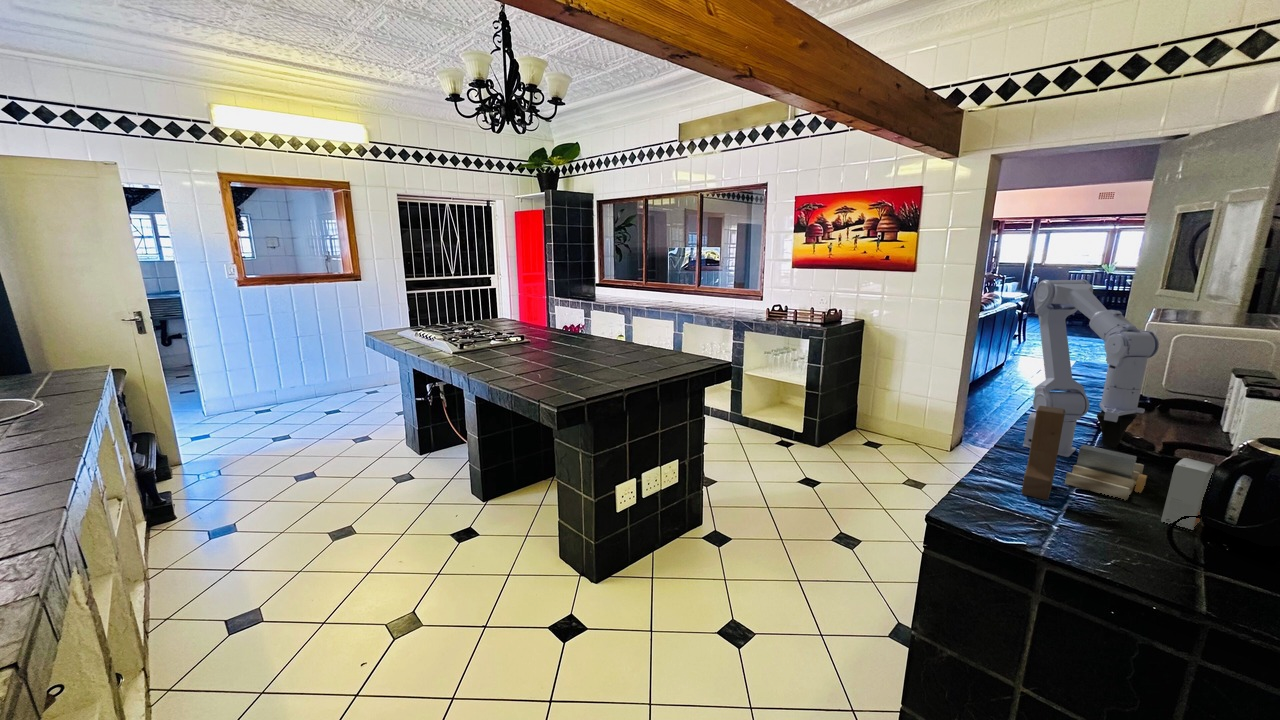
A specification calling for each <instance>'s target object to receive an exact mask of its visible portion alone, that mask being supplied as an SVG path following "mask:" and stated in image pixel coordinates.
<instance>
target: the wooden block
mask: <svg viewBox="0 0 1280 720" xmlns="http://www.w3.org/2000/svg"><path fill="white" fill-rule="evenodd" d="M1035 413H1036V417H1035V423H1034V429H1033V435H1032V441H1031V447H1030V448H1029V455H1028V459H1027V463H1026V468H1025V472H1024V475H1023V483H1022V487H1021V494H1022V495H1024V496H1027V497H1031V498H1035V499H1039V500H1044V501H1049V498H1050V494H1051V491H1052V487H1053V482H1054V477H1055V471H1056V467H1057V466H1056V465H1057V459H1058V456H1059V455H1058V449H1059V444H1060V438H1061V432H1062V427H1063V421H1064V416H1065V410H1064V409H1060V408H1053V407H1047V406H1039V407H1038V409H1037V411H1036V410H1035Z"/></svg>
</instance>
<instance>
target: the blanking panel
mask: <svg viewBox="0 0 1280 720" xmlns="http://www.w3.org/2000/svg"><path fill="white" fill-rule="evenodd" d="M1137 458H1138V456H1136V455H1132V454H1129V453H1124V452H1118V451H1114V450H1110V449H1105V448H1100V447H1097V446H1092V445H1087V444H1082V445H1080V447H1079V450H1078V455H1077V461H1076V465H1077V466H1081V467H1085V468H1089V469H1093V470H1097V471H1101V472H1105V473H1109V474H1113V475H1117V476H1121V477H1125V478H1129V479H1132V477H1133V472H1134V467H1135V463H1137V462H1136V461H1137Z"/></svg>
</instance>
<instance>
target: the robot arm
mask: <svg viewBox="0 0 1280 720" xmlns="http://www.w3.org/2000/svg"><path fill="white" fill-rule="evenodd" d="M1033 301H1034V302H1033V303H1034V312H1035V314H1036V315H1038V321H1039V322H1038V323H1039V328H1040V329H1039V330H1040V340H1041V347H1042V348H1041V350H1042V357H1043V358H1042V359H1043V365H1044V366H1043V367H1044V375H1045V380H1044V381H1042V382H1040V383H1038V384H1037V386H1035V387H1034V397H1033V400H1032V405H1033V409H1034V410H1035V412H1034V411H1032V412H1030V414H1029V416H1028V418H1027V422H1026V428H1025V434H1024V438H1023V439H1024V440H1023V444H1022V447H1024V448H1026V449H1027V448H1029V449H1030V447H1031V441H1032V435H1033V429H1034V423H1035V417H1036V411H1037V409H1038V407H1039V406H1047V407H1053V408H1060V409H1064V410H1065V416H1064V421H1063V427H1062V432H1061V438H1060V444H1059V449H1058V455H1057V456H1061V457H1065V458H1069V457H1071V455H1072V454H1073V453H1074V452H1075V451H1076V450H1077V447H1074V446H1073V442H1074V436H1075V431H1076V426H1077V421H1080V420H1081V418H1082V417H1084V416H1085V415H1087V413H1088V412H1089V409H1090V401H1089V398H1088V397H1087V394H1086V392H1085V387H1084V386H1083V384H1081V383H1079V382H1077V381H1076V380H1074V379H1073V374H1072V366H1071V365H1072V364H1071V357H1070V356H1071V355H1070V347H1069V341H1068V332H1067V330H1068V329H1067V323H1066V319H1067V318H1068V316H1071V315H1073V314H1075V313H1076V312H1077V311H1079V312H1080V313H1082V314H1083V315H1084V316H1085V317H1087V318H1088V319H1089V325H1088V326H1089V327H1090V329H1091V330H1092V331H1093V332H1094V333H1095V334H1096V335H1097V336H1098V337H1099V338H1100V339H1101V340H1102V341H1104V345H1103V346H1104V351H1105V353H1106V359H1105V361H1106V364H1107V365H1108V366H1107V372H1106V375H1105V381H1104V386H1103V392H1102V396H1101V401H1100V402H1099V407H1100V409H1101V411H1100V412H1098V413H1097V414H1096V418H1097V421H1098V423H1099V425H1100V429H1101V430H1100V431H1101V441H1102V445H1103V446H1105V447H1108V448H1117V447H1118V445H1119V444H1120V443H1121V441H1122V440H1123V437H1124V434H1125V433H1126V430H1127V428H1128V427H1129V426H1130V425H1131V424H1132V423H1133V421H1134V420H1135V419H1137V416H1138V415H1137V414H1144V413H1145V409H1146V408H1143V407H1138V406H1139V401H1140V397H1141V391H1142V387H1143V381H1144V378H1145V371H1146V367H1147V363H1148V359H1149V358H1150V359H1151V358H1152V357H1154V356H1155V355H1156V354H1157V352H1158V351H1159V348H1160V347H1159V346H1160V342H1159V338H1158V337H1157V336H1156V335H1155V333H1154V331H1151V330H1143V329H1139V328H1137V327H1136V326H1135V324H1133V323H1132V322H1130V321H1129V320H1128V319H1127V318H1126V317H1125V316H1124V315H1123V312H1122V311H1120V310H1115V309H1107V308H1106V307H1105V305H1103V304H1102V302H1101V301H1100V300H1099V299H1098V297H1096V296H1095V294H1094V286H1093V284H1090V282H1089V281H1088V280H1086V279H1061V280H1060V279H1056V280H1055V279H1054V280H1052V279H1043V280H1041V281H1040V282H1039V283H1038V284H1037V286H1036V288H1035V289H1034V291H1033Z"/></svg>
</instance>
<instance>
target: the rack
mask: <svg viewBox="0 0 1280 720" xmlns="http://www.w3.org/2000/svg"><path fill="white" fill-rule="evenodd" d="M1144 466H1145V464H1142V463H1139V462H1138V463H1137V462H1136V463H1135V467H1134V472H1133V477H1132V479H1129V478H1125V477H1121V476H1117V475H1113V474H1109V473H1105V472H1101V471H1097V470H1093V469H1089V468H1085V467H1081V466H1077V464H1074V465H1073V466H1072V472H1069V471H1067V472H1066V474H1065V479H1064V480H1065V481H1064V484H1065V485H1067V486H1071V487H1075V488H1079V489H1083V490H1086V491H1089V490H1090V491H1089V492H1094V493H1098V494H1100V493H1102V494H1101V495H1104V494H1105V495H1104V496H1107V495H1109V496H1108V497H1111V496H1113V497H1112V498H1115V497H1118V498H1121V499H1120V500H1122V499H1124V500H1123V501H1126V500H1127V501H1128V499H1129V497H1130V496H1129V495H1131V494H1132V493H1133V491H1135V493H1138V492H1139V493H1138V494H1141V493H1142V492H1143V490H1144V489H1145V487H1144V486H1146V483H1147V478H1148V475H1146V474H1143V472H1144ZM1135 485H1136V486H1135ZM1118 498H1117V499H1118Z"/></svg>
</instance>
